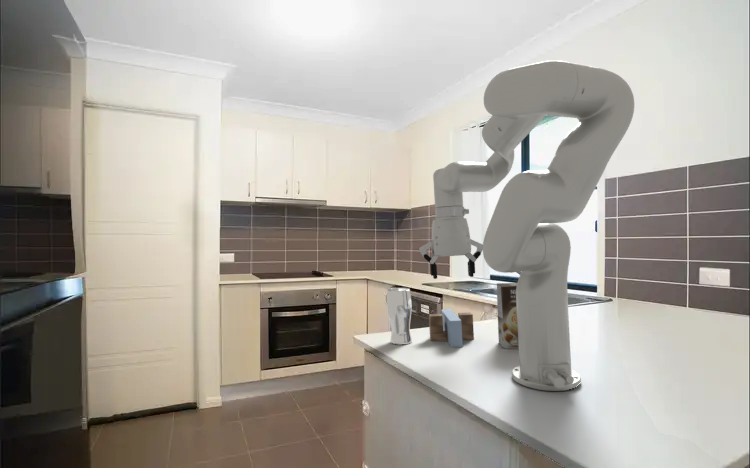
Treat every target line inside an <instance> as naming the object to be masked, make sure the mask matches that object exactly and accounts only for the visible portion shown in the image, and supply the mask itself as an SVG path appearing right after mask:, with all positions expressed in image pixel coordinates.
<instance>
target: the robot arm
mask: <svg viewBox="0 0 750 468" xmlns="http://www.w3.org/2000/svg"><path fill="white" fill-rule="evenodd" d="M483 105H484V109H485V110H486V112H488V114H490V115H491V117H489V119H488V120H487V121H486V123H485V124H484V125H483V127H482V128H481V129H482V130H481V136H482V140H483V141H484V143H485V144H486V146H487V147H488V149H490V150H491V151H493V153H492V154H491V156H490V157H489V158H487V160H485V161H484V162H479V161H477V162H475V161H454V162H453V161H452V162H450V163H449V164H447V165H446V166H444V167H442V168H439V169H436V170H435V171H434V172H433V175H432V178H433V196H434V211H435V219H433V220H432V222H431V223H432V224H431V241H429V242H428V243H426V244H423V245H422V246H420V247H419V252H420V254H421V256H422V257H423V259H424V260H425V261H426V262H428V263H429V265H430V276H431V277H432V276H433V277H432V278H433V279H434V280H437V279H438V269H437V268H438V267H437V263H436V261H437V260H438V258H439V257H456V256H458V257H459V256H465V257H466V259H468V261H467V272H468V273H467V274H468V277H470V278H473V277H474V274H476V263H475V262H476V261H477V260H478V258H479V257H480V256H481V255H482V253H483V258H484V261H485V263H486V264H487V266H488V267H489V268H491V270H493V271H494V272H495V271H496V272H498V273H506V274H508V273H518V272H519V273H520V275H519V277H518V280H517V282H516V283H517V288H516V305H517V324H518V343H519V348H518V355H519V356H518V358H519V365H518V366H515V367H514V368H513V369H512V370H511V378H512V379H513V380H514V382H516V383H518V384H520V386H524V387H527V388H530V389H534V390H538V391H540V390H541V391H547V392H548V391H549V392H565V391H570V390H569V389H571V390H573V389H572V388H574V389H576V388H577V387H576V386H577V385H578V384H579V383H580V382H581V383H582V378H581V375H580V374H579V373H578V372H577V371H575V370H573V369H572V357H571V353H572V352H571V338H570V320H569V317H570V316H569V298H568V297H569V296H568V273H569V265H570V258H571V252H572V251H571V249H572V247H571V240H570V236H569V235H568V233H567V232H566V230H564V229H563V228H562V227H561V226H560V225H558V224H560V223H568V222H571V221H574V220H577V218H578V217H580V215H581V214H582V213H583V212H584V210H585V208H586V206H587V205H588V203H589V201H590V200H591V197H592V195H593V194H594V191H595V190H596V187H597V185H598V183H599V181H600V180H601V178H602V176H603V174H604V172H605V170H606V168H607V165H608V164H609V162H610V160H611V159H612V156H613V155H614V153H615V151H616V149H617V148H618V146H619V145H620V143H621V141H622V140H623V138H624V137H625V135H626V133H627V131H628V130H629V127H630V125H631V123H632V120H633V117H634V112H635V97H634V94H633V91H632V88H631V87H630V84H628V82H627V81H626V80H625V79H624V78H622V76H620V75H619V74H617V73H615V72H612V71H610V70H607V69H605V68H600V67H595V66H591V65H585V64H579V63H573V62H568V61H563V60H545V61H540V62H536V63H532V64H527V65H522V66H518V67H517V66H516V67H512V68H509V69H505V70H503V71H500V72H499V73H498V74H496V75H495V76H493V78H491V80H490V81H489V83H488V84H487V86H486V88H485V91H484V94H483ZM546 116H553V117H562V118H563V117H564V118H572V119H577V120H578V123H577V125H576V126H575V127H574V128H572V129H571V130H570V131H568V133H567V134H566V135H565V137H563V139H562V140H561V142H560V143H559V144H558V147H556V151H555V154H554V156H553V158H552V160H551V162H550V164H549V165H548V167H547V168H546V169H545V170H526V171H522V172H519V173H517V174H515V175H514V176H512V177H511V178H510V180H508V182H507V183H506V184H505V186H504V187H503V189H502V191H501V193H500V195H499V198H498V201H497V203H496V205H495V207H494V208H495V209H494V210H493V214H492V216H491V218H490V220H489V223H488V225H487V228H486V231H485V234H484V236H483V237H484V238H483V243H480V242H479V241H476V240H474V239H472V238H471V234H470V229H469V224H468V219H467V217H466V218H465V215H468V214H470V209H468V208H465V206H464V199H463V197H464V195H463V193H470V192H471V193H484V192H488V191H490V190H491V191H492V190H493V189H495V188H496V187H497V186H498V185H499V184H500V183H501V182H502V181H503V180H504V179H505V178H506V177H507V176H508V175H509V173H510V172H511V170H512V168H513V164H514V160H515V149H516V148H517V147H518V146H519V145H520V144H521V143H522V141H524V140H525V139H526V137H527V136H528V135H529V134H530V133H531V132H532V131H533V130H534V129H535V128H536V126H537V125H538V124H540V122H541V121H542V120H544V118H545V117H546ZM472 246H473V247H475V248H476V251H475V252H474V253H472ZM430 248H431V253H432V255H431V256H429V255H428V253H427V250H429V249H430ZM575 387H576V388H575Z"/></svg>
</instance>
